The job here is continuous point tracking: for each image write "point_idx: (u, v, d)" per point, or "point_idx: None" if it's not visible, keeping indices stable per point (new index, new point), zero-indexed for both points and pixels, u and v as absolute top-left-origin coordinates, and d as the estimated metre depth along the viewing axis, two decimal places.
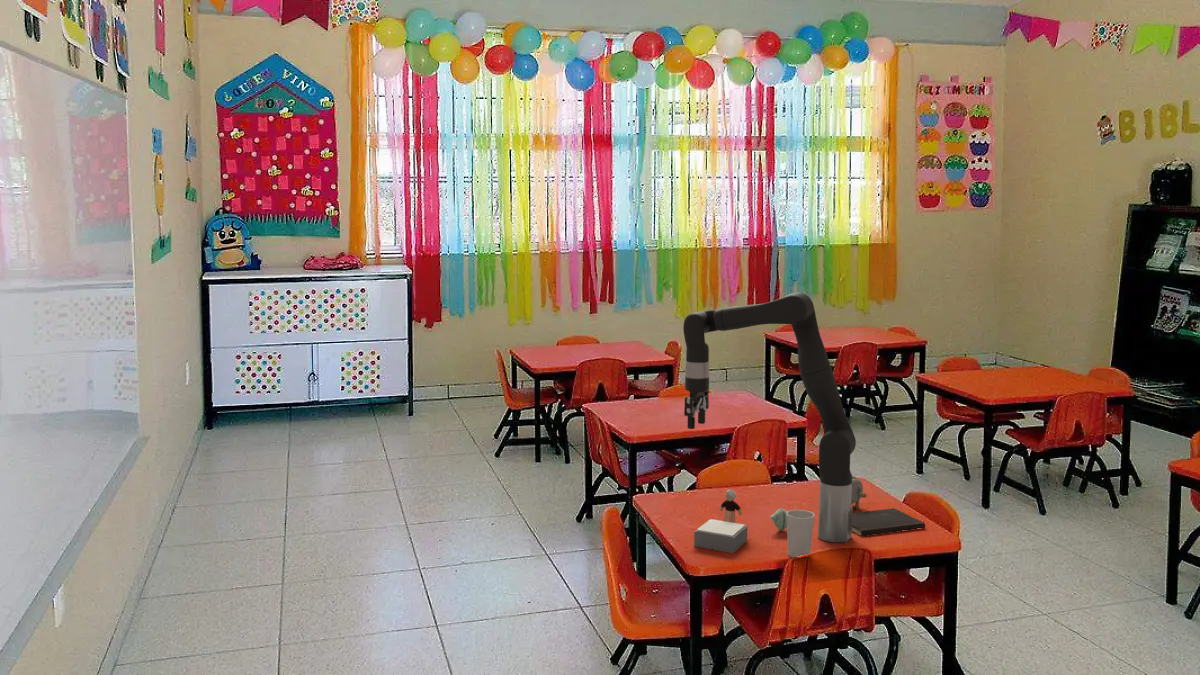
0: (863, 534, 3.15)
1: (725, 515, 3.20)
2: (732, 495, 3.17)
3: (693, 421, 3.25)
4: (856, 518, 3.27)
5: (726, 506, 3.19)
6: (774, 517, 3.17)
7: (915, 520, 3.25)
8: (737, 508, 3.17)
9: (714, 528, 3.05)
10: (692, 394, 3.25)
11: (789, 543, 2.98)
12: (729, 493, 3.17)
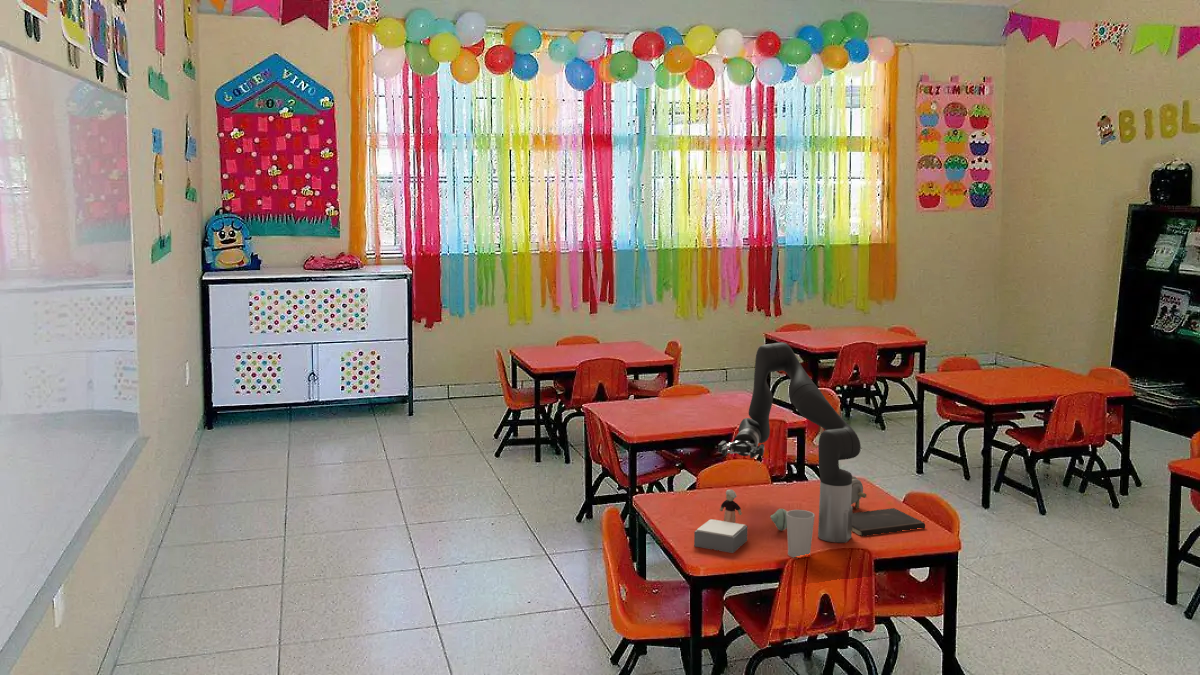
0: (863, 534, 3.15)
1: (725, 515, 3.20)
2: (732, 495, 3.17)
3: (724, 448, 3.31)
4: (856, 518, 3.27)
5: (726, 506, 3.19)
6: (774, 517, 3.17)
7: (915, 520, 3.25)
8: (737, 508, 3.17)
9: (714, 528, 3.05)
10: None
11: (789, 543, 2.98)
12: (729, 493, 3.17)
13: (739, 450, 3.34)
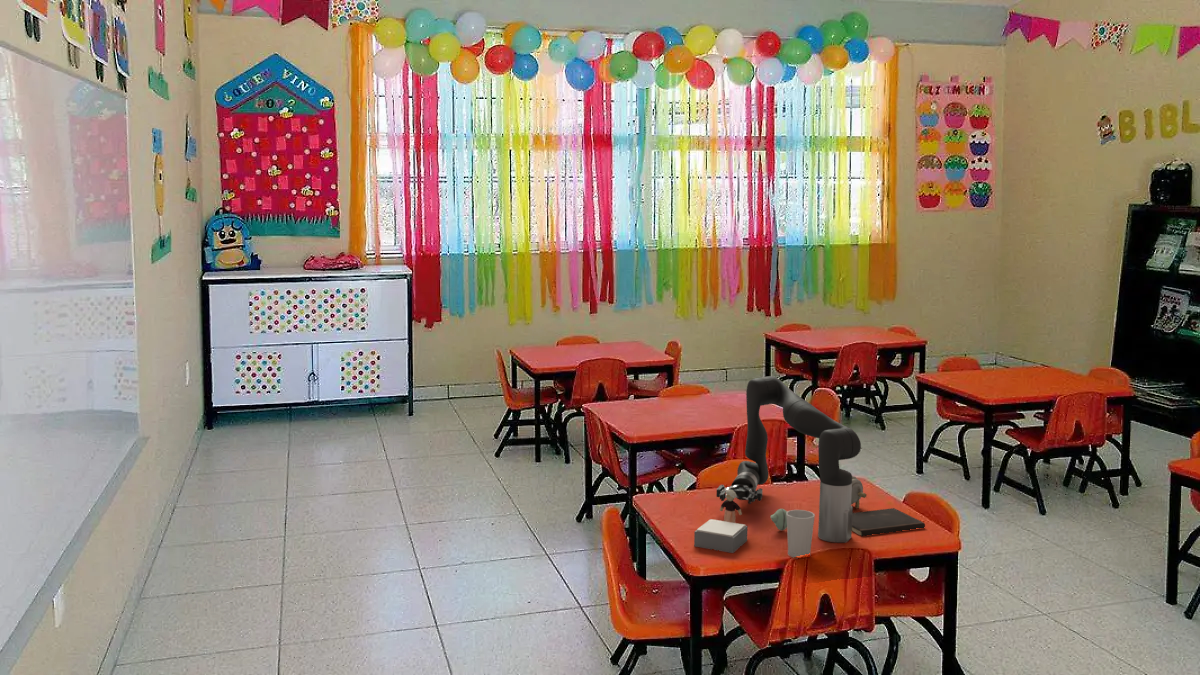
0: (863, 534, 3.15)
1: (725, 515, 3.20)
2: (732, 495, 3.17)
3: (722, 492, 3.31)
4: (856, 518, 3.27)
5: (726, 506, 3.19)
6: (774, 517, 3.17)
7: (915, 520, 3.25)
8: (737, 508, 3.17)
9: (714, 528, 3.05)
10: None
11: (789, 543, 2.98)
12: (729, 493, 3.17)
13: (737, 495, 3.34)
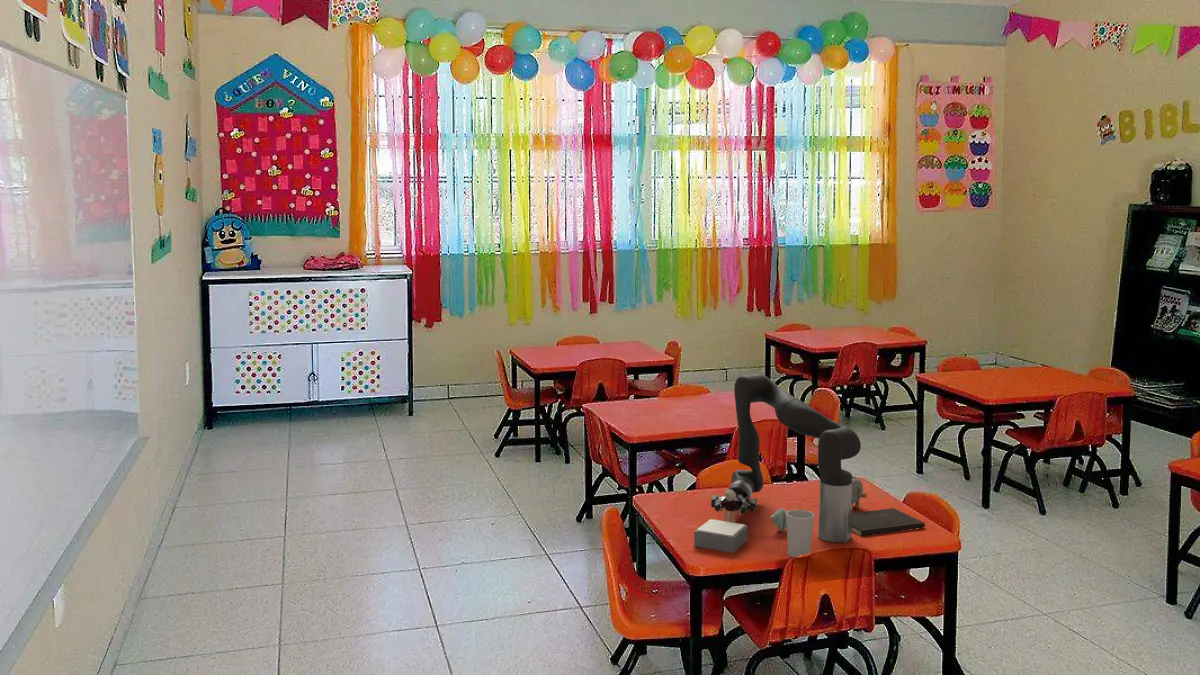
0: (863, 534, 3.15)
1: (725, 515, 3.20)
2: (732, 495, 3.17)
3: (717, 503, 3.21)
4: (856, 518, 3.27)
5: (726, 506, 3.19)
6: (774, 517, 3.17)
7: (915, 520, 3.25)
8: (737, 508, 3.17)
9: (714, 528, 3.05)
10: None
11: (789, 543, 2.98)
12: (729, 493, 3.17)
13: None
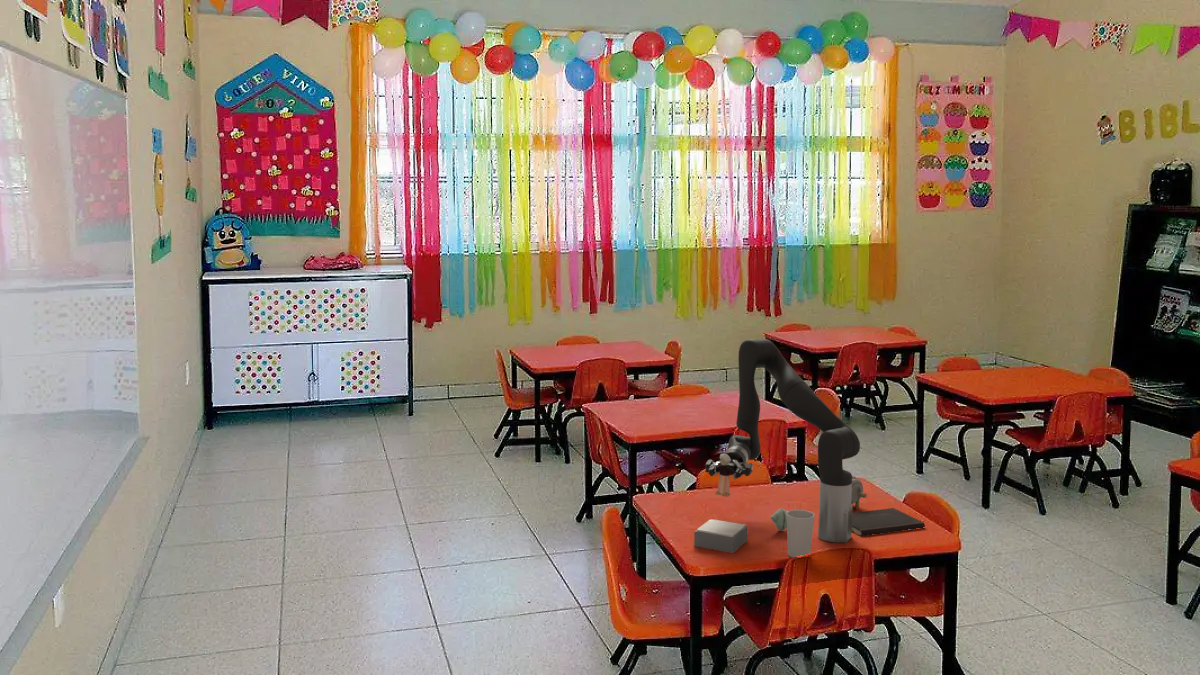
0: (863, 534, 3.15)
1: (719, 480, 3.13)
2: (726, 459, 3.10)
3: (711, 467, 3.13)
4: (856, 518, 3.27)
5: (720, 471, 3.12)
6: (774, 517, 3.17)
7: (915, 520, 3.25)
8: (731, 472, 3.10)
9: (714, 528, 3.05)
10: None
11: (789, 543, 2.98)
12: (723, 457, 3.10)
13: None
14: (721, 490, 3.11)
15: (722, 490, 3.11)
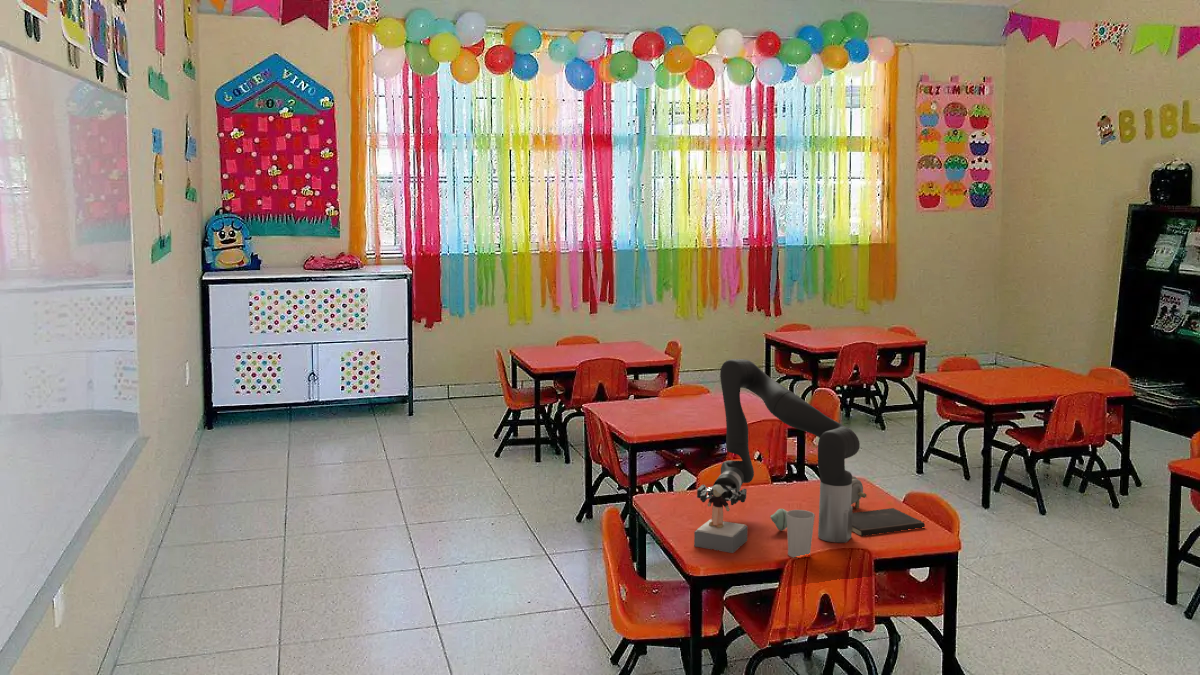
0: (863, 534, 3.15)
1: (713, 511, 3.08)
2: (719, 491, 3.04)
3: (703, 493, 3.08)
4: (856, 518, 3.27)
5: (713, 502, 3.06)
6: (774, 517, 3.17)
7: (914, 520, 3.25)
8: (724, 504, 3.04)
9: (714, 528, 3.05)
10: None
11: (789, 543, 2.98)
12: (716, 489, 3.04)
13: None
14: (714, 522, 3.06)
15: (715, 522, 3.06)
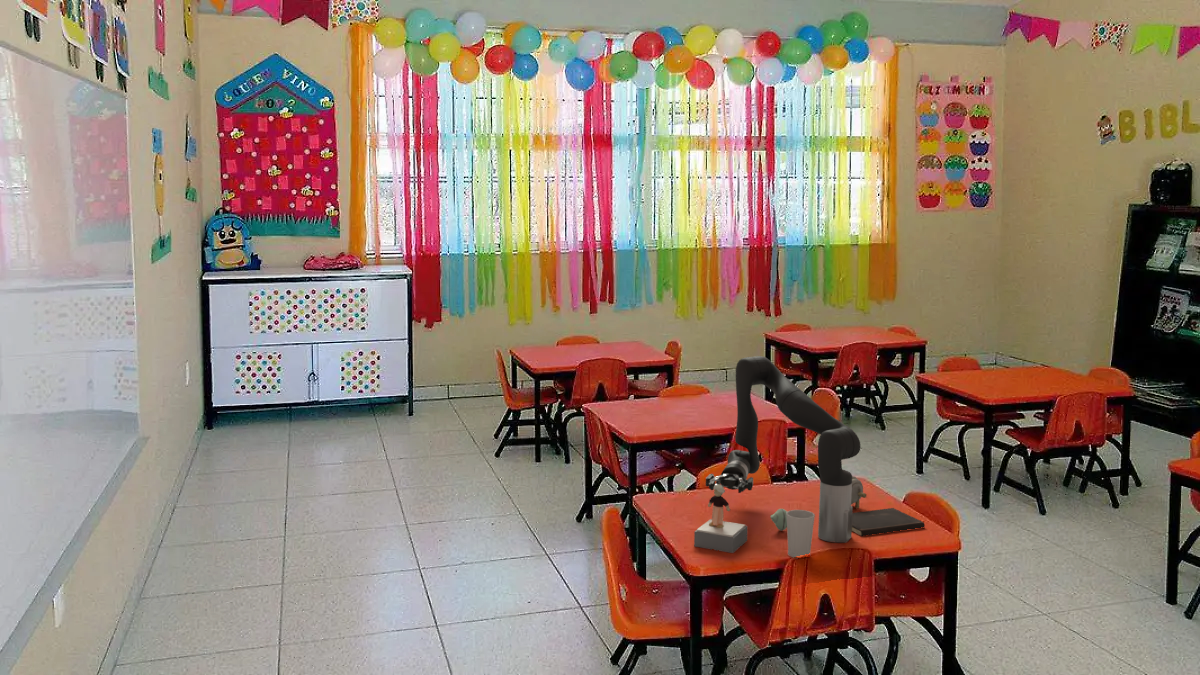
0: (863, 534, 3.15)
1: (713, 511, 3.08)
2: (720, 490, 3.05)
3: (712, 482, 3.20)
4: (856, 518, 3.27)
5: (714, 502, 3.07)
6: (774, 517, 3.17)
7: (914, 519, 3.25)
8: (725, 504, 3.05)
9: (714, 528, 3.05)
10: None
11: (789, 543, 2.98)
12: (717, 488, 3.05)
13: (727, 484, 3.23)
14: (715, 521, 3.06)
15: (716, 521, 3.06)
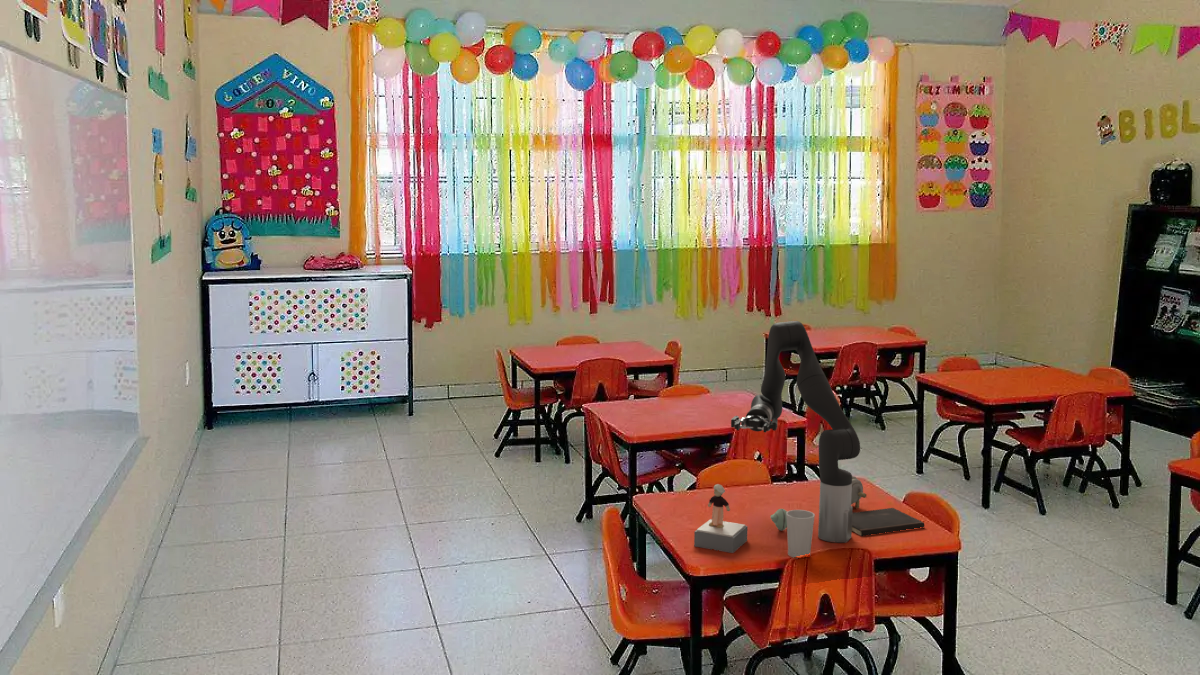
0: (863, 534, 3.15)
1: (713, 511, 3.08)
2: (720, 490, 3.05)
3: (737, 422, 3.27)
4: (856, 517, 3.27)
5: (714, 502, 3.07)
6: (774, 517, 3.17)
7: (914, 519, 3.26)
8: (725, 504, 3.05)
9: (714, 528, 3.05)
10: None
11: (789, 543, 2.98)
12: (717, 488, 3.05)
13: (752, 425, 3.30)
14: (715, 521, 3.06)
15: (716, 521, 3.06)
